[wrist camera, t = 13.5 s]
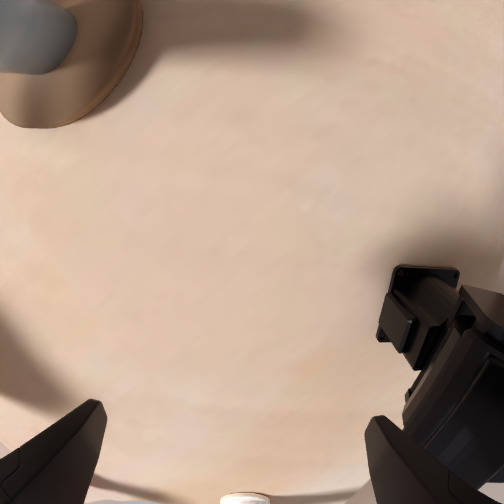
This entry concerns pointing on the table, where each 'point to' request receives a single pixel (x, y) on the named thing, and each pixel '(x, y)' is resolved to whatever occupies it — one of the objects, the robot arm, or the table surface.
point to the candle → (244, 499)
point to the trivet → (77, 67)
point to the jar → (34, 36)
